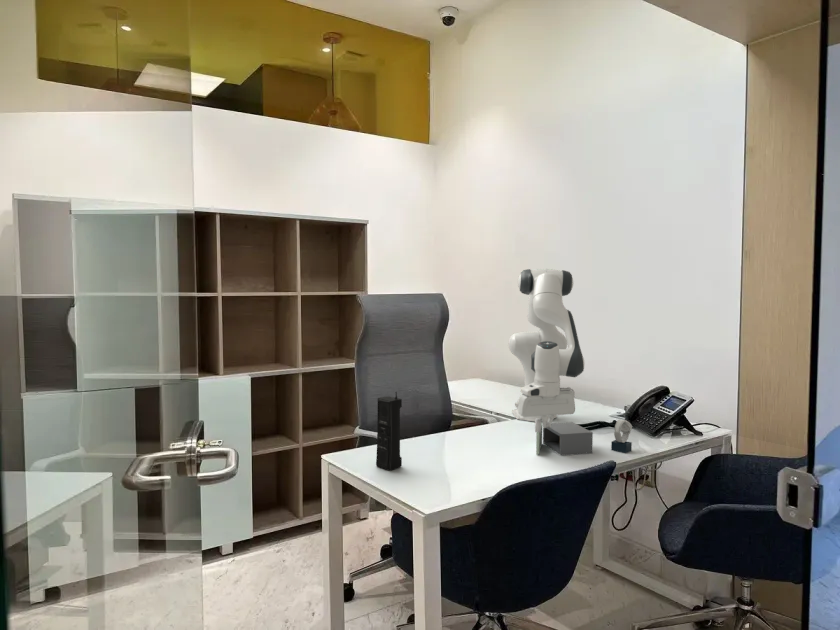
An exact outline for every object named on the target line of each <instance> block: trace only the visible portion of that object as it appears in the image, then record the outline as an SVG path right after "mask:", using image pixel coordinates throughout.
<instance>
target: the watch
mask: <svg viewBox="0 0 840 630" xmlns="http://www.w3.org/2000/svg"><path fill="white" fill-rule="evenodd" d="M632 429H633V426H632V424H631V422H630V421H628V420H626V419H618V420H617V421H616V422H615V425H614V429H613V430H614V432H613V435H614V440H613V441H611V445H610V446H611V449H610V451H614V452H617V453H623V454H628V453H630V452H632V449H633V448H632V447H633V446H632V443H633V442H632V441H628V440H629V437H630V434H631V432H632Z"/></svg>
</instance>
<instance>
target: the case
mask: <svg viewBox="0 0 840 630" xmlns="http://www.w3.org/2000/svg"><path fill="white" fill-rule="evenodd" d="M593 434H594V433H593V431H591V430H589V429H588V428H587V429H586V428H585V427H583V426H581V425H579V424H577V423H575V422H573V421H569V422H568V421H567V422H552V423H551V428H543V427H542V444H543V445H544V446H546V447H547V448H549V449H551V451H554V452H555V453H557V455H559V456H572V455H586V454H587V455H589V454H593V443H594V441H593V440H594V439H593Z"/></svg>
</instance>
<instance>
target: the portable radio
mask: <svg viewBox="0 0 840 630" xmlns="http://www.w3.org/2000/svg"><path fill="white" fill-rule="evenodd" d="M397 394H398V393H397V392H395V397H393V396H381V397H377V426H376V427H377V428H376V429H377V431H376V432H377V435H376V458H375V459H376V462H375V465H376V467H379V468H380V469H384V470H386V471H390V472H391V471H394V470H396V469H397V470H398V469H399V468H401V467H402V463H403V462H402V459H403V458H402V456H401V408H403V406H402V405H403V402H402V401H403V400H402V398H398V396H397Z"/></svg>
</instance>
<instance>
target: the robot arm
mask: <svg viewBox="0 0 840 630" xmlns="http://www.w3.org/2000/svg"><path fill="white" fill-rule="evenodd" d="M517 286H518V288H519V292H520V293H521V294H523V295H526V296H529V297H528V305H527V316H526V317H527V321H528V322H529V323H530V324H531V325H532V326H534V327H536V328H538V329H539V331H538V330H537V331H520V332H514V333H513V334H511V335H510V337H509V339H508V345H507V346H508V349H509V351H510V353H512V354H513V355H514V356H515V357H516V358H517V359H518V360H519V361H520V363H521V365H522V368H523V374H524V375H523V376H524V386H521V388H520V392H521V393H520V394H521V395H520V396H519V398H518V399H517V401H516V402H515V403H514V407H515V409H512V410H511V414H512V415H513V416H514V417H515V418H516V420H519V421H520V420H521V421H528V422H535V419H537V418H538V419H541V423H542V429H543V428H551V423H553V421H554V420H555V419H556V418H558V416H560V415H561V416H563V415H573V414H575V412H576V401H575V396H576V395H575V390H574V389H573V388H571V387H569V386H568V387H561V378H560V376H561V377H568V378H576V377H577V378H578V376H580V375H581V374H582V373H583V372H584V371H585V370H584V369H585V358H584V356H583V352H582V350H581V345H580V342H579V337H578V332H577V329H576V323H575V321H574V320H575V319H574V317H573V314H572V312H571V311H570V310H569V309H567V308H566V307H565V305H564V303H563V297H564V296H568V295H569V294H571V293H572V290H573V287H574V278H573V275H572V273H571V272H570V271H567V270H559V269H553V268H552V269H550V268H545V269H544V268H543V269H541V268H540V269H539V268H536V269H531V268H530V269H529V268H528V269H523V270H522V271H521V272H520V275H519V276H518V279H517ZM558 328H559V329H561V330H563V332H564V334H565V335H564V334H563V333H562V332H560V331H559V329H558Z"/></svg>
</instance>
